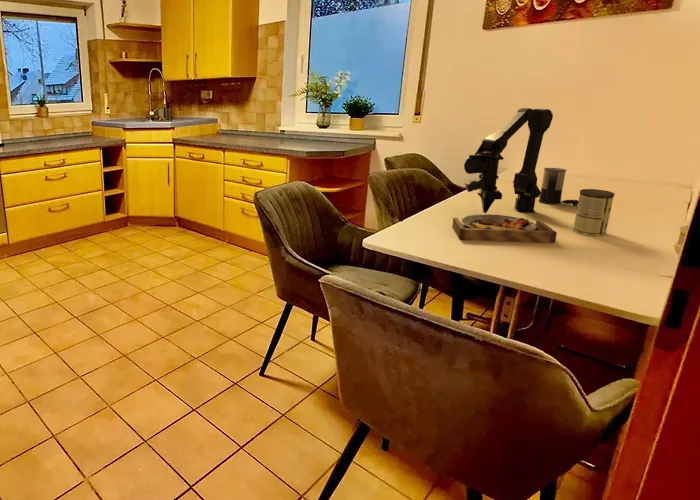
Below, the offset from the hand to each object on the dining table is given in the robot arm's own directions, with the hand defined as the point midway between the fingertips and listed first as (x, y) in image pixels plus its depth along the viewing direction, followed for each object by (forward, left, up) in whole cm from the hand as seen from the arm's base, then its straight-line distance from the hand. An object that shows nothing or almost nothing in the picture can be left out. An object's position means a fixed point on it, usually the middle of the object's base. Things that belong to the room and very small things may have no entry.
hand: (484, 212), depth 172 cm
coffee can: (-32, +18, -2) cm, 36 cm away
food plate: (-1, +16, -2) cm, 16 cm away
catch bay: (0, +25, -1) cm, 25 cm away
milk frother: (-38, -26, -2) cm, 46 cm away
